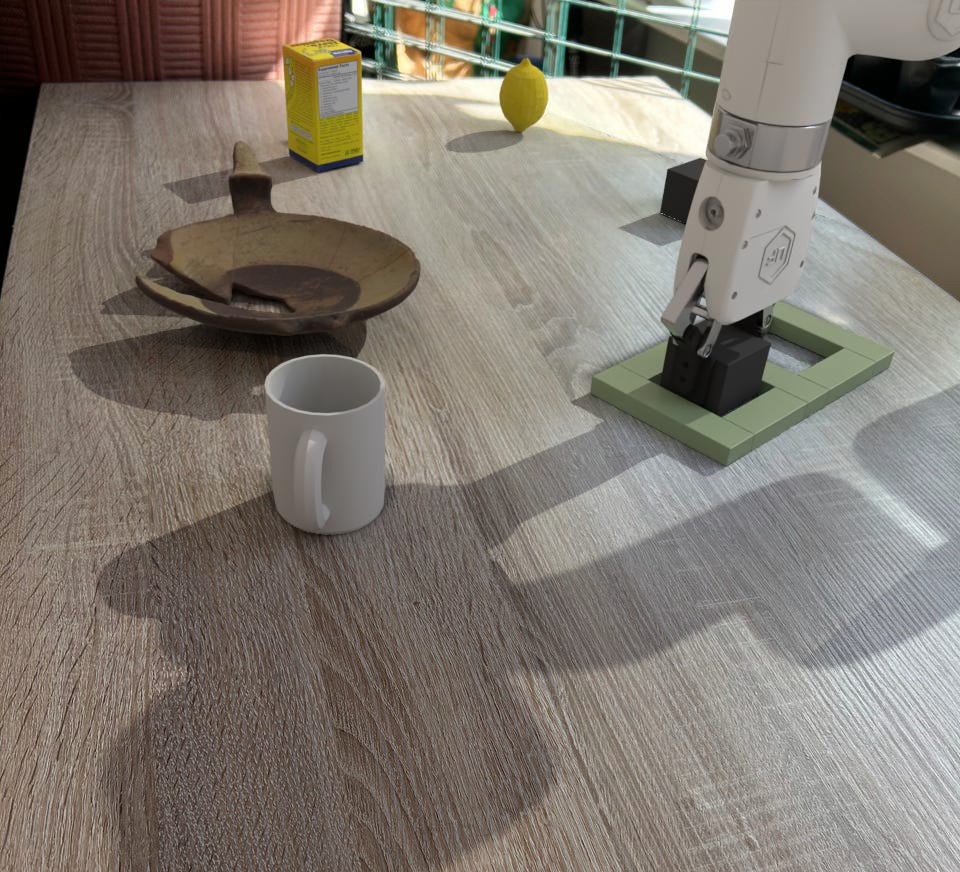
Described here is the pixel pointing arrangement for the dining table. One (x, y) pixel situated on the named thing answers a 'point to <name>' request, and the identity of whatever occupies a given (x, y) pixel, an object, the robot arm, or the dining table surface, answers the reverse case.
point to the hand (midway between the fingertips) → (711, 381)
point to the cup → (327, 442)
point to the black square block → (681, 189)
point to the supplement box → (323, 103)
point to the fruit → (523, 95)
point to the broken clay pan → (280, 264)
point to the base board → (777, 398)
